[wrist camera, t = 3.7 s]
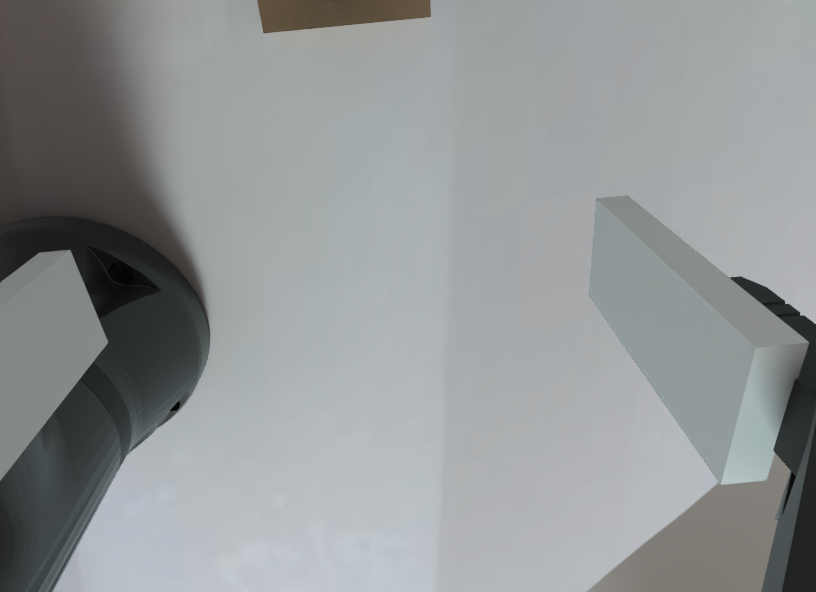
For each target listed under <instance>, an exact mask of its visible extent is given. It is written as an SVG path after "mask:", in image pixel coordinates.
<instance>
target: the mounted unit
mask: <svg viewBox="0 0 816 592" xmlns="http://www.w3.org/2000/svg"><path fill="white" fill-rule="evenodd" d="M257 1H258V6H259V11H260V16H261V22H262V27H263V32H264V33H271V32H281V31H291V30H302V29H312V28H322V27H332V26H342V25H353V24H363V23H373V22H383V21H393V20H404V19H414V18H424V17H431V12H430V0H257Z"/></svg>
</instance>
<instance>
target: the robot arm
mask: <svg viewBox="0 0 816 592" xmlns="http://www.w3.org/2000/svg"><path fill="white" fill-rule="evenodd" d="M589 297H590V298H591V300H592V301H593V302H594V304H595V305H596V307H597V308H598V310H599V311H600V312H601V314H602V315H603V317H604V318H605V320H606V321H607V323H608V324H609V325H610V327H611V328H612V330H613V331H614V333H615V334H616V335H617V337H618V338H619V340H620V341H621V343H622V344H623V345H624V347H625V348H626V350H627V351H628V353H629V354H630V356H631V357H632V358H633V360H634V361H635V363H636V364H637V366H638V367H639V368H640V370H641V371H642V373H643V374H644V376H645V377H646V378H647V380H648V381H649V383H650V384H651V386H652V387H653V388H654V390H655V391H656V393H657V394H658V396H659V397H660V399H661V400H662V401H663V403H664V404H665V406H666V407H667V409H668V410H669V411H670V413H671V414H672V416H673V417H674V419H675V420H676V421H677V423H678V424H679V426H680V427H681V429H682V430H683V432H684V433H685V434H686V436H687V437H688V439H689V440H690V442H691V443H692V444H693V446H694V447H695V449H696V450H697V452H698V453H699V454H700V456H701V457H702V459H703V460H704V462H705V463H706V464H707V466H708V467H709V469H710V470H711V472H712V473H713V475H714V476H715V477H716V479H717V480H718V482H719V483H720V485H722V484H733V483H742V482H743V483H744V482H754V481H764V480H767V477H768V473H769V470H770V467H771V464H772V461H773V457H774V454H775V453H776V454H777V455H778V456H779V458H780V459H781V460H782V461H783V462H784V463H785V464H786V466H787V467H788V468H789V469H790V470H791V473H790V476H789V479H788V482H787V485H786V488H785V491H784V494H783V497H782V500H781V503H780V506H779V509H778V512H777V515H776V517H775V519H776V520H778V523H777V527H776V531H775V536H774V540H773V544H772V549H771V553H770V558H769V562H768V566H767V570H766V574H765V579H764V583H763V587H762V591H761V592H816V324H814V323H813V322H812V321H811V320H809V319H808V318H807V317H805V316H800V312H799V311H797V310H796V309H795V308H793V307H792V306H791V305H789V304H785V301H784V300H783V299H781V298H780V297H779V296H777V295H776V294H775V293H773V292H772V291H771V290H769V289H768V288H767V287H764V286H762V285H760V284H757V283H755V282H753V281H750V280H748V279H745V278H743V277H731V278H729V277H728V276H726V275H725V274H724V273H723V272H721V271H720V270H719V269H718V268H717V267H715V266H714V265H713V264H712V263H710V262H709V261H708V260H707V259H705V258H704V257H703V256H702V255H700V254H699V253H698V252H697V251H695V250H694V249H693V248H692V247H691V246H689V245H688V244H687V243H686V242H684V241H683V240H682V239H681V238H679V237H678V236H677V235H676V234H674V233H673V232H672V231H671V230H669V229H668V228H667V227H666V226H665V225H663V224H662V223H661V222H660V221H658V220H657V219H656V218H655V217H653V216H652V215H651V214H650V213H648V212H647V211H646V210H645V209H643V208H642V207H641V206H640V205H639V204H637V203H636V202H635V201H634V200H632V199H631V198H630V197H629V196H627V195H626V196H616V197H606V198H596V211H595V223H594V236H593V248H592V261H591V273H590V286H589ZM208 354H209V329H208V323H207V320H206V316H205V313H204V310H203V308H202V305H201V303H200V301H199V299H198V297H197V295H196V294H195V292H194V290H193V289H192V287H191V286H190V284H189V283H188V282H187V280H186V279H185V278H184V277H183V275H182V274H181V273H180V272H179V271H178V270H177V269H176V268H175V267H174V266H173V265H172V264H171V263H170V262H169V261H168V260H167V259H166V258H165V257H163V256H162V255H161V254H160V253H158V252H157V251H156V250H154V249H153V248H151V247H150V246H148V245H147V244H145V243H144V242H142V241H140V240H139V239H137V238H135V237H133V236H131V235H129V234H127V233H125V232H123V231H120V230H118V229H115V228H113V227H110V226H107V225H104V224H101V223H97V222H93V221H89V220H84V219H78V218H69V217H41V218H34V219H29V220H24V221H20V222H17V223H14V224H11V225H9V226H6V227H4V228H2V229H0V592H53V590H54V588H55V586H56V584H57V583H58V581H59V579H60V577H61V575H62V573H63V572H64V570H65V568H66V566H67V564H68V562H69V560H70V559H71V557H72V555H73V553H74V551H75V549H76V548H77V546H78V544H79V542H80V540H81V538H82V536H83V535H84V533H85V531H86V529H87V527H88V525H89V523H90V522H91V520H92V518H93V516H94V514H95V512H96V511H97V509H98V507H99V505H100V503H101V501H102V499H103V498H104V496H105V494H106V492H107V490H108V488H109V486H110V485H111V483H112V481H113V479H114V477H115V475H116V473H117V471H118V470H119V468H120V466H121V464H122V463H123V461H124V459H125V457H126V455H128V454H129V453H130V452H131V451H132V450H134V449H135V448H136V447H137V446H138V445H140V444H141V443H142V442H143V441H144V440H145V439H147V438H148V437H149V436H150V435H151V434H152V433H153V432H154V431H155V430H156V428H158V427H160V426H161V425H163V424H164V423H165V422H167V421H168V420H169V419H171V418H172V417H173V416H174V415H175V414H176V413H177V412H178V411H179V410H180V409H181V408H182V407H183V406H184V405H185V403H186V402H187V401H188V399H189V398H190V396H191V395H192V393H193V391H194V389H195V387H196V385H197V383H198V381H199V379H200V377H201V375H202V373H203V370H204V368H205V365H206V362H207V359H208Z"/></svg>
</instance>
